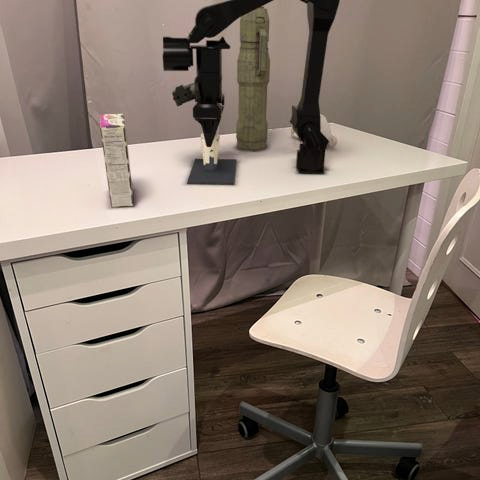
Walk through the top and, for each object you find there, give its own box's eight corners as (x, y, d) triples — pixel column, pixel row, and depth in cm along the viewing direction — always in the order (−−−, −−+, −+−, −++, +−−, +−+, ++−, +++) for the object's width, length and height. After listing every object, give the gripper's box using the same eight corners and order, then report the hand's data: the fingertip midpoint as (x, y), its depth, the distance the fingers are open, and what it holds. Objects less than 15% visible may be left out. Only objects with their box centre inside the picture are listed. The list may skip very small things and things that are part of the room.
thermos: (249, 154, 144) (252, 7, 125) (228, 144, 153) (228, 5, 134) (275, 150, 148) (282, 7, 129) (253, 141, 157) (257, 6, 138)
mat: (236, 161, 138) (236, 159, 137) (234, 185, 121) (234, 182, 121) (195, 160, 138) (195, 158, 138) (187, 184, 121) (187, 181, 121)
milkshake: (226, 169, 130) (225, 127, 124) (210, 173, 126) (209, 130, 121) (213, 165, 132) (212, 124, 127) (197, 169, 129) (196, 127, 124)
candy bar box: (109, 191, 116) (99, 113, 107) (132, 190, 117) (124, 113, 108) (109, 208, 107) (99, 125, 98) (134, 207, 108) (125, 124, 99)
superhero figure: (282, 141, 161) (320, 149, 145) (283, 109, 157) (322, 114, 141) (310, 138, 165) (350, 146, 149) (311, 107, 161) (352, 112, 145)
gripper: (178, 65, 125) (181, 132, 133) (167, 76, 109) (171, 151, 118) (224, 66, 125) (224, 133, 133) (220, 77, 109) (220, 152, 118)
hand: (210, 142), depth 125 cm, fingers open, 9 cm apart
